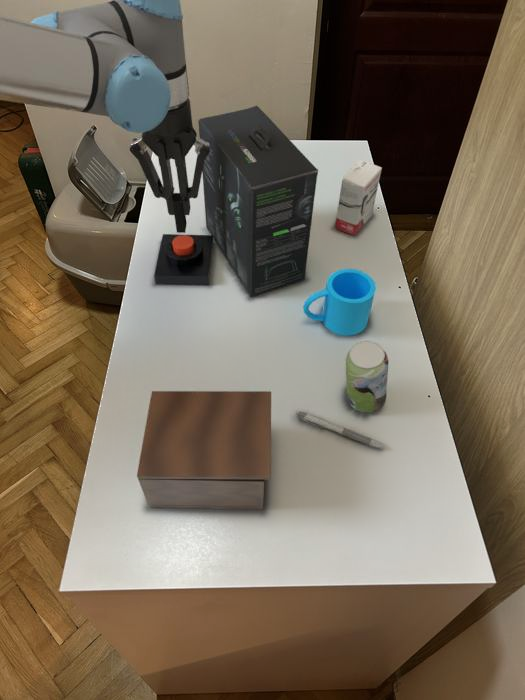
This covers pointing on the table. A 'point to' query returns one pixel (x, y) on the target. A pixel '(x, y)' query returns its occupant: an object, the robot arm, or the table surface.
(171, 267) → the button block
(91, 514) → the table surface
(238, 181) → the headset box
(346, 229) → the ink box
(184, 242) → the button
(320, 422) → the pen
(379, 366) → the beverage can
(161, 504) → the chest
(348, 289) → the mug
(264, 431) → the brown wooden lid
